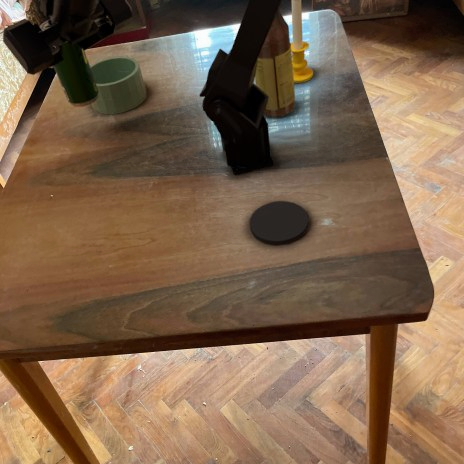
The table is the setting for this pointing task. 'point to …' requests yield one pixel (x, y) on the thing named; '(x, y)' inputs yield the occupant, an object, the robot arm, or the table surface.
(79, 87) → the beer can
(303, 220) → the black coaster
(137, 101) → the pot
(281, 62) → the sauce bottle
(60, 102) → the table surface
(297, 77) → the candle
